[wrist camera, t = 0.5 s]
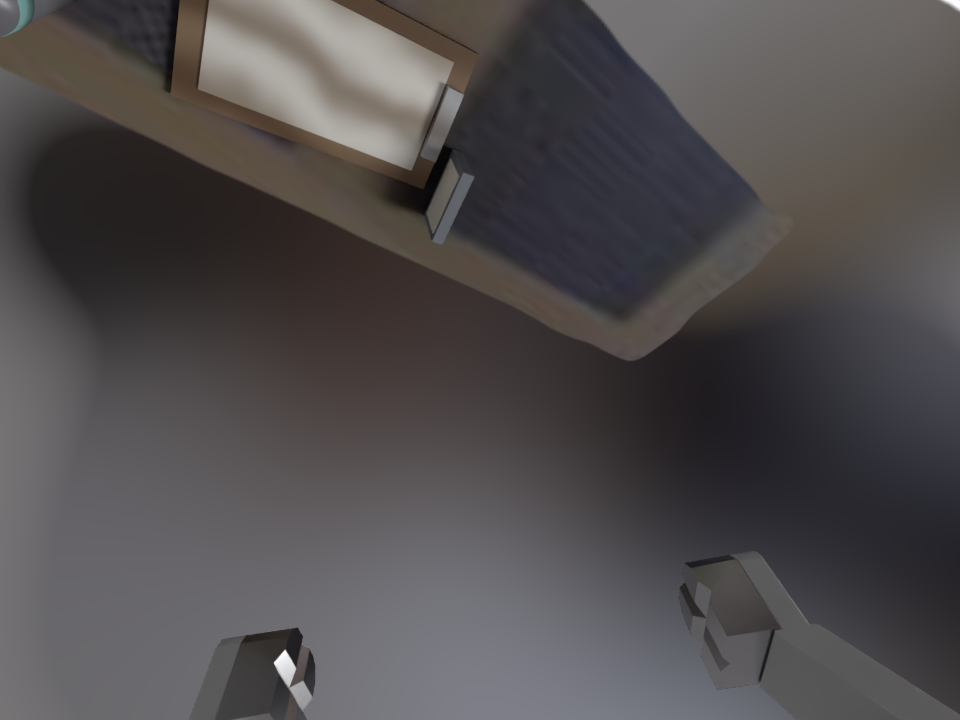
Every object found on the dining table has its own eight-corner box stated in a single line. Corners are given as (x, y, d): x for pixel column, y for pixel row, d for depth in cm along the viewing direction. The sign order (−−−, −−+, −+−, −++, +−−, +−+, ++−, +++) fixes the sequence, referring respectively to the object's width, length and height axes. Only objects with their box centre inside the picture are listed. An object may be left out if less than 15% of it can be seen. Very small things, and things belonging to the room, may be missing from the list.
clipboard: (191, -99, 37) (186, -98, 36) (478, 53, 48) (481, 57, 47) (171, 93, 45) (167, 99, 43) (422, 186, 55) (424, 193, 54)
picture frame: (451, 148, 53) (462, 171, 49) (462, 153, 54) (474, 176, 50) (422, 214, 58) (430, 241, 53) (433, 218, 58) (442, 244, 54)
